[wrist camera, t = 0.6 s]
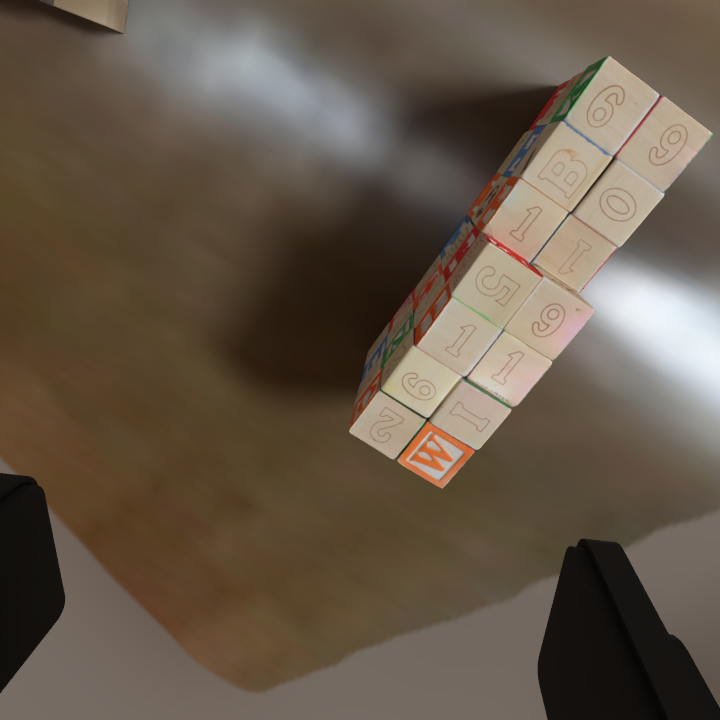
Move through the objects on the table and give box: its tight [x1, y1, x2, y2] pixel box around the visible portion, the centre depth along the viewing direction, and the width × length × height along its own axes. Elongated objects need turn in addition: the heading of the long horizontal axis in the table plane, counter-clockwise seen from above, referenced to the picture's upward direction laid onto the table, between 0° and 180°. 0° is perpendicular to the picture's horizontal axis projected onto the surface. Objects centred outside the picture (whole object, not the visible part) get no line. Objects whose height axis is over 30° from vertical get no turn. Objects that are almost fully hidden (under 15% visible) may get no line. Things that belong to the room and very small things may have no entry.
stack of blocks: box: [349, 56, 713, 488], centre depth 29 cm, size 21×6×12 cm, turn 147°
